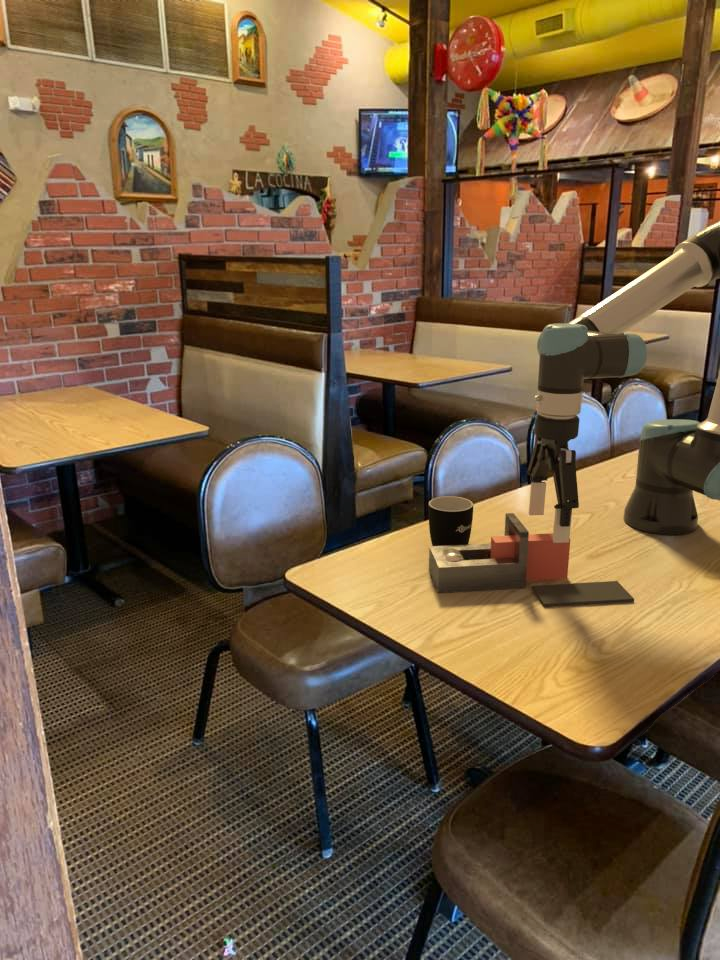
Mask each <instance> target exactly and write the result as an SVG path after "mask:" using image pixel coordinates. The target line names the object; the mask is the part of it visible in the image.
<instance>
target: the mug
mask: <svg viewBox="0 0 720 960" xmlns="http://www.w3.org/2000/svg"><path fill="white" fill-rule="evenodd" d="M427 509H428V512H427V513H428V525H429V526H428V530H429V536H430V541H431V545H432V546H449V545H469V542H470V539H471V533H472V528H473V527H472V526H473V518H474V503H473V502H472V501H471V500H470V499H467V498H465V497H461V496H454V495H451V496H450V495H448V496H445V495H444V496H438V497H434V498H432V499H431V500H429V501H428V507H427Z"/></svg>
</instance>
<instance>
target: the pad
mask: <svg viewBox="0 0 720 960" xmlns="http://www.w3.org/2000/svg"><path fill="white" fill-rule="evenodd" d="M530 589H531V591H532V592H533V593H534V595H535V596H536V598H537V599H538V601H539V602H540V604H541V605H542V607H543V608H549V607H552V608H553V607H564V606H565V607H566V606H586V605H602V604H603V605H604V604H619V603H634V602H635V598H634V597H633V595H632V594H630V593H629V592H628V591H627V589H626V588H624V586H623V585H622V584H621V583H620V582H619V581H618V580H611V581H591V582H589V581H588V582H574V583H572V582H571V583H556V584H555V583H554V584H538V585H537V584H536V585H535V584H533V585H531V587H530Z"/></svg>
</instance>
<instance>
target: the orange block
mask: <svg viewBox="0 0 720 960" xmlns="http://www.w3.org/2000/svg"><path fill="white" fill-rule="evenodd" d="M490 543H491V552H490V559H500V558H515V543H516V535H510V536H505V535H494V536H493V535H492V536H490ZM570 549H571V537H570V538H569V542H565V543H554V542H553V533H535V534H533V533H532V534H530V533H529V537H528V554H527V570H526V581H538V580H555V579H557V580H558V579H568V575H569V574H568V573H569V572H568V571H569V564H570V563H569V562H570V561H569V560H570V552H571V551H570Z"/></svg>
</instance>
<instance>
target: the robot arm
mask: <svg viewBox="0 0 720 960" xmlns="http://www.w3.org/2000/svg"><path fill="white" fill-rule="evenodd" d="M719 279H720V220H717V221H716V222H714V223H712V224H711V225H708V226H707V227H705V228H702V229H701V230H699V231H697V232H696V233H695V234H693V235H691V236H689V237H688V238H686V239H685V240H683V241H681V242H680V243H679V244H677V245H676V246H675V248H674V250H673V252H672V255H670V256H669V257H667V258H665V259H663V260H662V261H661V262H660V263H658V264H656V265H654V266H653V267H652V268H650V269H648V270H647V271H646V272H644V273H642V274H640V275H639V276H638V277H636V278H635V279H634V280H632V281H631V282H629V283H627V284H625V286H622V287H621V288H619V289H618V290H617V291H615V292H613V293H612V294H611V295H609V296H607V297H606V298H604V299H603V300H601V301H600V302H597V304H596V305H593V306H592V307H591V308H589V309H588V310H586V311H585V312H583V313H582V314H579V315H578V316H577V317H575V318H574V319H572V320H571V321H569V322H568V323H549V324H547V325H545V327H544V328H543V330H541V333H540V334H539V336H538V339H537V344H536V348H537V349H536V350H537V353H538V355H539V362H538V363H539V364H538V377H537V378H538V381H537V394H536V395H534V398H533V400H534V401H535V402H536V406H535V407H536V408H535V410H536V412H537V414H536V415H535V416H534V428H533V433H534V435H535V442H534V446H533V449H532V454H531V455H530V461H529V465H528V468H527V471H526V472H527V475H528V476H529V479H530V493H529V505H528V506H529V508H528V515H529V516H544V515H545V504H546V503H545V502H546V492H547V482H546V481H549V479H548V476H547V475H548V473H551V474H552V476H553V483H554V488H555V495H556V500H557V503H556V504H555V505H554V506H553V507H554V522H553V531H552V532H553V542H554V543H565V542H569V538H570V539H571V526H572V525H571V524H572V518H573V517H572V516H573V515H572V514H573V509H578V508H579V507H580V502H579V492H578V479H577V478H578V477H577V469H576V467H577V466H576V459H577V458H576V457H577V452H576V450H575V449H572V450H571V449H569V441H571V440H575V439H576V438H578V436H579V428H580V417H579V416H578V415H580V414H581V409H582V402H583V401H582V400H583V386H584V380H590V379H608V378H620V379H622V378H624V377H632V376H636V375H638V374H639V373H640V372H641V371H642V370H643V369H644V367H645V365H646V363H647V358H648V357H647V355H648V348H647V345H646V342H645V340H644V339H643V337H642V336H640V335H639V334H637V333H627V331H629V330H630V329H632V328H633V327H634V326H637V325H638V324H639V323H641V322H642V321H644V320H645V319H647V318H649V317H650V316H652V315H653V314H654V313H656V312H657V311H659V310H661V309H662V308H663V307H665V306H666V305H668V304H670V303H671V302H672V301H674V300H676V299H677V298H679V297H680V296H682V295H683V294H685V293H686V292H688V291H689V290H691V289H692V288H695V287H696V288H702V287H704V286H706V285H708V284H709V283H712V281H714V280H719ZM637 455H638V456H637V468H636V478H635V486H634V489H633V491H632V492H631V494H630V497H629V499H628V502H627V503H626V505H625V507H624V511H623V521H624V522H625V523H626V524H627V525H628V526H630V527H633V528H635V529H636V530H639V531H643V532H645V533H650V534H651V533H652V534H656V535H664V536H665V535H668V536H671V535H672V536H674V535H677V536H678V535H679V536H680V535H686V534H689V533H692V532H694V531H696V529H697V528H698V522H699V516H698V515H699V514H698V511H697V506H696V502H695V498H694V494H693V493H694V492H695V493H698V494H701V495H703V496H705V497H707V498H708V499H710V500H717V501H719V502H720V371H719V373H718V376H717V380H716V385H715V388H714V392H713V396H712V400H711V403H710V407H709V411H708V415H707V418H706V419H705V420H704V421H701V422H700V421H698V420H692V419H683V418H682V419H678V418H677V419H669V418H668V419H656V420H651V421H648V422H646V423H645V424H644V425H643V426H642V427H641V434H640V438H639V444H638V454H637Z"/></svg>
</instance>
